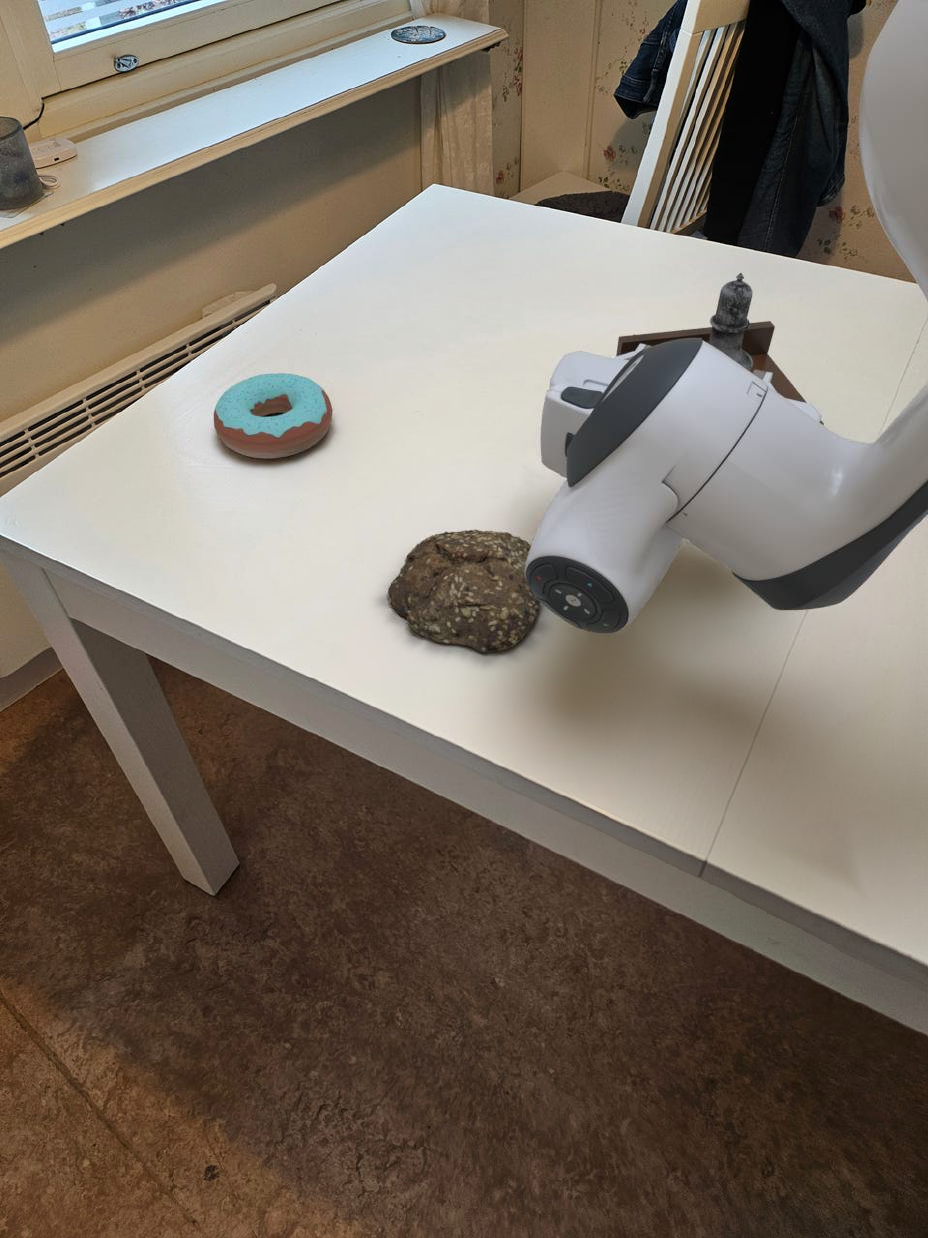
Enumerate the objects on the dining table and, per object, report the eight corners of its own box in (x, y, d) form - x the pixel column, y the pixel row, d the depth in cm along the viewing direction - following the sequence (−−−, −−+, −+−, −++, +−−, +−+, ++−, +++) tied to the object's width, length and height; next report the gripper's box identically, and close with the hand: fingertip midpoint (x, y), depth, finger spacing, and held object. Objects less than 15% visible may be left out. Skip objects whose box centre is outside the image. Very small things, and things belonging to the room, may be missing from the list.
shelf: (752, 389, 94) (770, 320, 88) (809, 467, 85) (834, 395, 79) (609, 405, 92) (618, 336, 86) (652, 486, 83) (665, 415, 77)
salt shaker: (677, 402, 84) (700, 281, 75) (690, 371, 87) (714, 253, 79) (738, 414, 82) (770, 293, 73) (749, 383, 86) (780, 263, 77)
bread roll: (553, 557, 76) (557, 513, 73) (528, 662, 68) (531, 619, 64) (412, 536, 78) (409, 493, 75) (372, 636, 70) (366, 592, 66)
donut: (354, 442, 88) (350, 409, 85) (242, 481, 84) (234, 446, 81) (307, 387, 95) (301, 354, 92) (201, 420, 91) (192, 387, 88)
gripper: (812, 459, 57) (847, 358, 65) (525, 387, 63) (591, 304, 72) (787, 531, 62) (823, 429, 70) (522, 458, 68) (584, 372, 76)
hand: (703, 365), depth 71 cm, fingers open, 8 cm apart
